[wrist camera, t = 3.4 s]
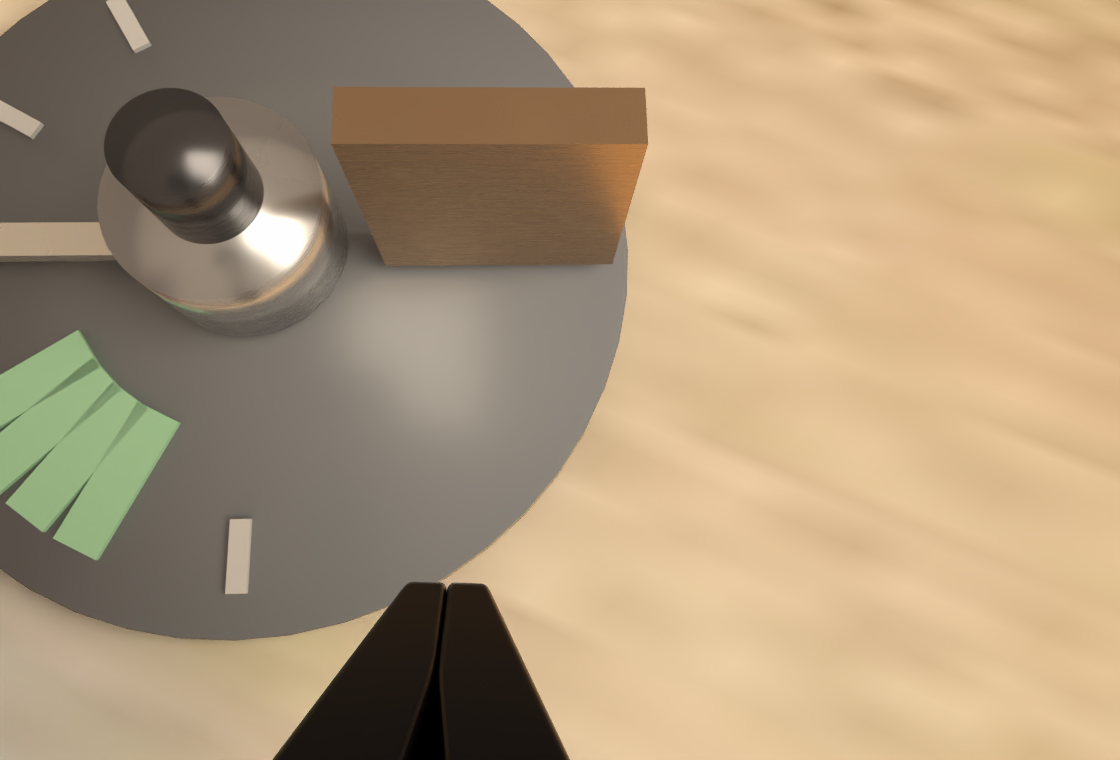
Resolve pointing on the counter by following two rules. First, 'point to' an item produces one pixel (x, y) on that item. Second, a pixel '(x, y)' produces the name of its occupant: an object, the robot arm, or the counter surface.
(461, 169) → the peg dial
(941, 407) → the counter surface
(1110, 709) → the counter surface
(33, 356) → the gauge plate
